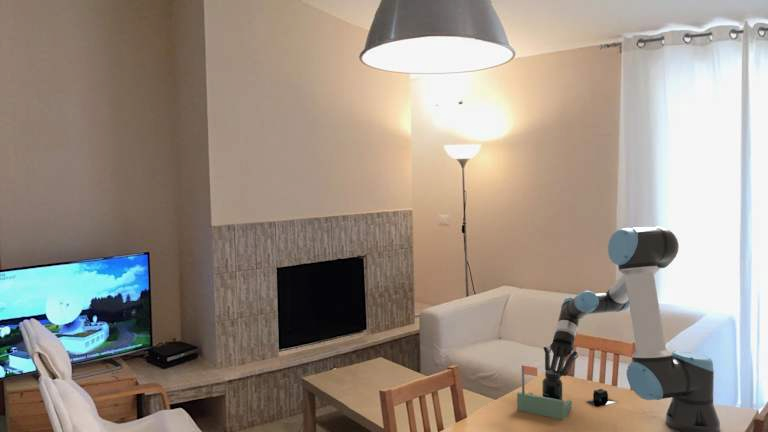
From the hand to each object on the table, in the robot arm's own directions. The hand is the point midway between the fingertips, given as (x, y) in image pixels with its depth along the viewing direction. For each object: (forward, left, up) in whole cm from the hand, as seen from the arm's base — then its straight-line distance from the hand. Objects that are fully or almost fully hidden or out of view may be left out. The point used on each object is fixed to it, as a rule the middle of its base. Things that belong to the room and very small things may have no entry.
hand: (550, 390), depth 206 cm
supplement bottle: (-3, +3, -4) cm, 6 cm away
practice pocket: (-4, +8, -4) cm, 10 cm away
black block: (-12, -13, -4) cm, 18 cm away
